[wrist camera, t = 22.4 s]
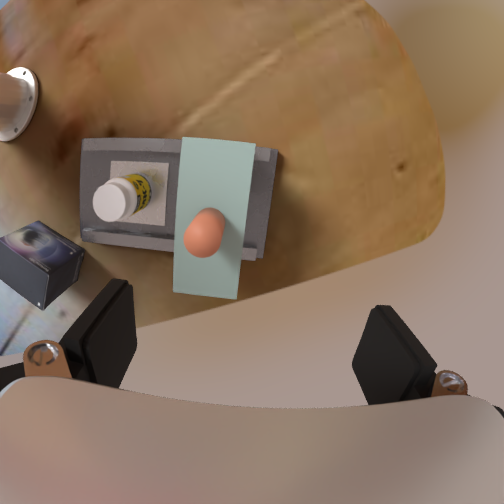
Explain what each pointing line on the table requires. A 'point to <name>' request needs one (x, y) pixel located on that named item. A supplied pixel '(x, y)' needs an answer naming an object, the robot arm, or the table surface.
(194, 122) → the table surface
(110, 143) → the base
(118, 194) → the supplement bottle
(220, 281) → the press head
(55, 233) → the small box
